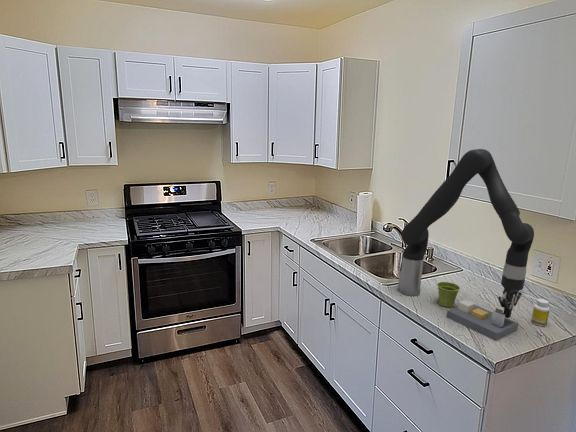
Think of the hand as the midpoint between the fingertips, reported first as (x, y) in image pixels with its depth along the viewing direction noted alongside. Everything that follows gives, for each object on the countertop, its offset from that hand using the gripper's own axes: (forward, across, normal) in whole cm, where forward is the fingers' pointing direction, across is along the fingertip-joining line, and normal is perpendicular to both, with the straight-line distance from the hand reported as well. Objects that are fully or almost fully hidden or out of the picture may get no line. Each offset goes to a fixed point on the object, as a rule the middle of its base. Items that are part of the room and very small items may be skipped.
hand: (506, 316), depth 153 cm
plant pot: (+5, +2, -25) cm, 26 cm away
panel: (+5, +5, -7) cm, 10 cm away
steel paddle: (+1, +6, 0) cm, 7 cm away
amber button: (+4, +5, -8) cm, 10 cm away
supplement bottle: (+5, -16, +5) cm, 18 cm away
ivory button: (+3, +5, -14) cm, 15 cm away
